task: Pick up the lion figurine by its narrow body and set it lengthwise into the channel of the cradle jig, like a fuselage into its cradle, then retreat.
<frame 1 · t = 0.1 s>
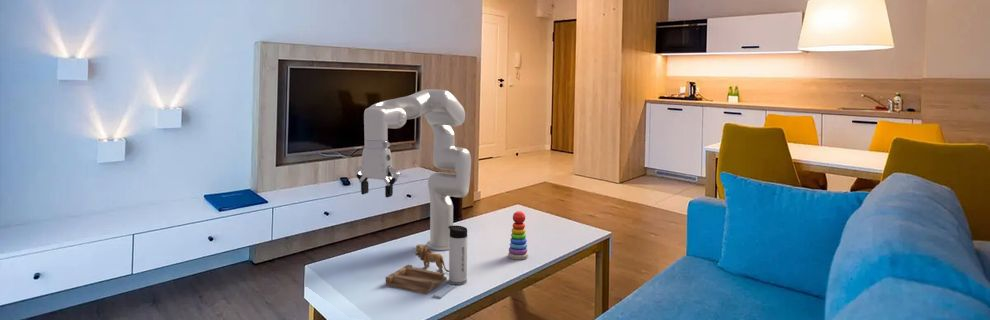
hand: (376, 195, 180), 31 cm above the table, tool pointing down, fingers open, 9 cm apart
cradle jig: (416, 282, 186), on the table
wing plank: (443, 293, 178), on the table
stacking toy: (518, 257, 214), on the table
lion figurine: (430, 270, 198), on the table
travel mug: (457, 282, 188), on the table
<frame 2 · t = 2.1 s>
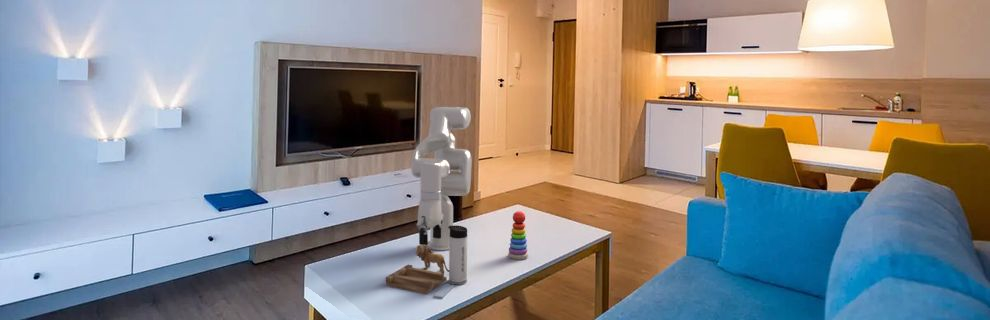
hand: (430, 241, 196), 11 cm above the table, tool pointing down, fingers open, 9 cm apart
nothing on the table moved.
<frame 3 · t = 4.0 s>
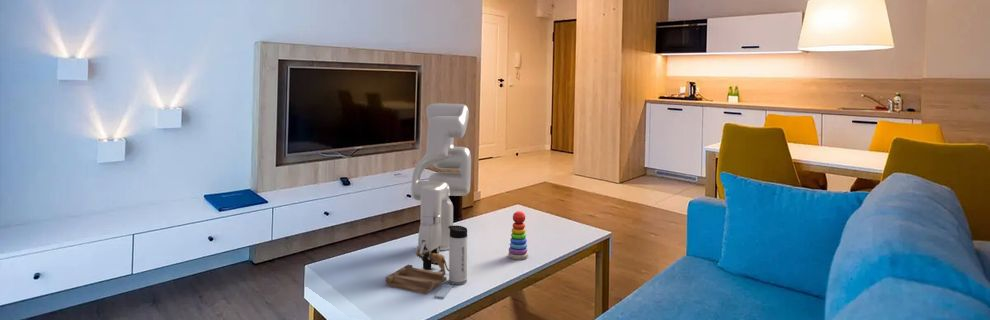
hand: (430, 266, 198), 1 cm above the table, tool pointing down, fingers closed on lion figurine, 4 cm apart
lion figurine: (432, 270, 198), on the table, touching gripper
everything else where it was.
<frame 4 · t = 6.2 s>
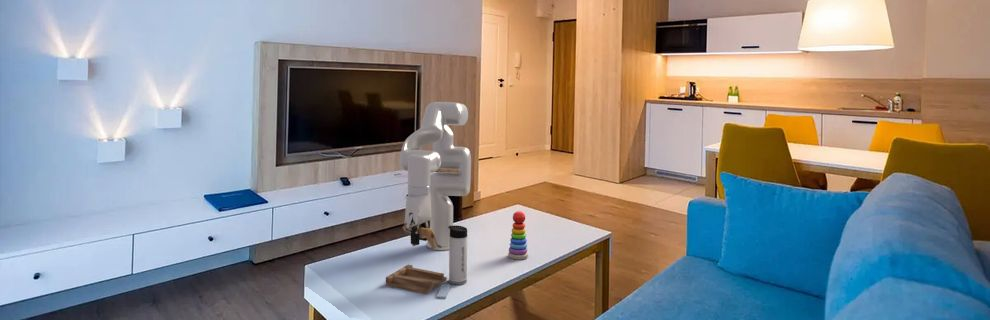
hand: (419, 241, 183), 15 cm above the table, tool pointing down, fingers closed on lion figurine, 4 cm apart
lion figurine: (421, 246, 182), point 13 cm above the table, touching gripper
everything else where it was.
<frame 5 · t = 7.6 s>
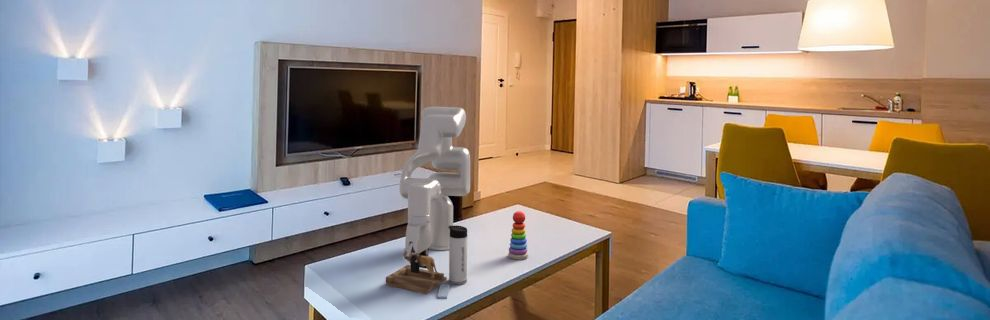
hand: (419, 269, 185), 5 cm above the table, tool pointing down, fingers closed on lion figurine, 4 cm apart
lion figurine: (421, 274, 184), point 3 cm above the table, touching gripper
everything else where it was.
when the fingers open (4 cm above the table, at t = 8.5 s): lion figurine drops 2 cm, resting on cradle jig.
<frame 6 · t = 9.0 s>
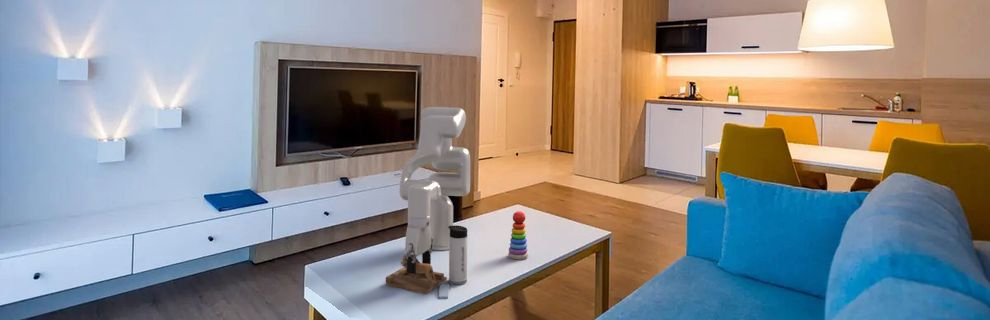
hand: (419, 268, 185), 5 cm above the table, tool pointing down, fingers open, 9 cm apart
lion figurine: (419, 281, 184), point 1 cm above the table, touching cradle jig
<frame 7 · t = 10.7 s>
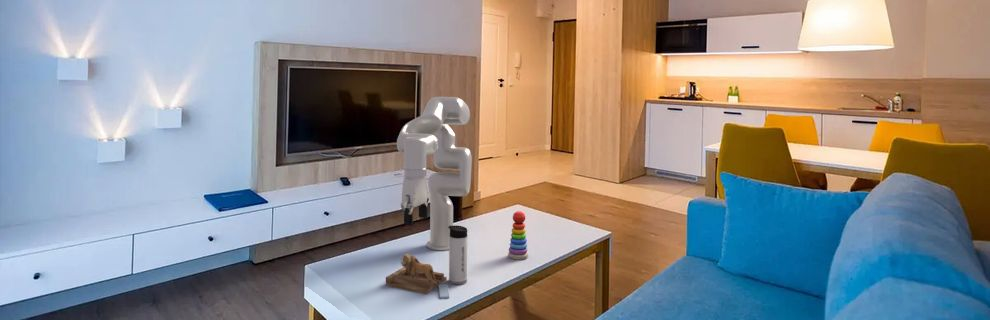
hand: (415, 221, 185), 21 cm above the table, tool pointing down, fingers open, 9 cm apart
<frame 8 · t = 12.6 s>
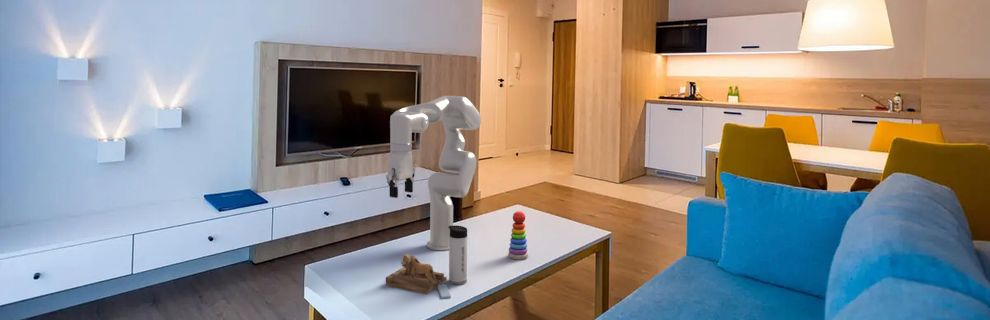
hand: (401, 194, 194), 28 cm above the table, tool pointing down, fingers open, 9 cm apart
at the end: lion figurine inside the target area on the cradle jig (1.0 cm from its centre), point 0.8 cm above the cradle jig's base; lion figurine tilted 0°; the gripper is holding nothing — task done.
